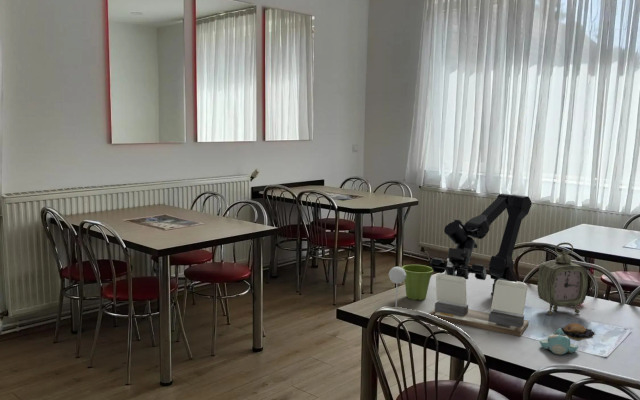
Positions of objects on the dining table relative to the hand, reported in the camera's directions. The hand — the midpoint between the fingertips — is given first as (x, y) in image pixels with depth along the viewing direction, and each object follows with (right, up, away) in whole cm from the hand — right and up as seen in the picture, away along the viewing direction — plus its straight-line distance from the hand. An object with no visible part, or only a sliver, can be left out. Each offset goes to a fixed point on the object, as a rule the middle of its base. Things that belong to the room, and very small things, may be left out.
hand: (451, 289), depth 196 cm
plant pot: (-8, -6, +22) cm, 24 cm away
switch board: (+8, -10, -3) cm, 13 cm away
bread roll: (+37, -13, -13) cm, 41 cm away
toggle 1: (0, -5, +1) cm, 5 cm away
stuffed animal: (+26, -14, -26) cm, 39 cm away
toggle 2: (+16, -6, -8) cm, 19 cm away
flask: (+9, -4, +41) cm, 42 cm away
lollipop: (-18, -8, +9) cm, 21 cm away
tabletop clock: (+39, -9, +8) cm, 41 cm away
